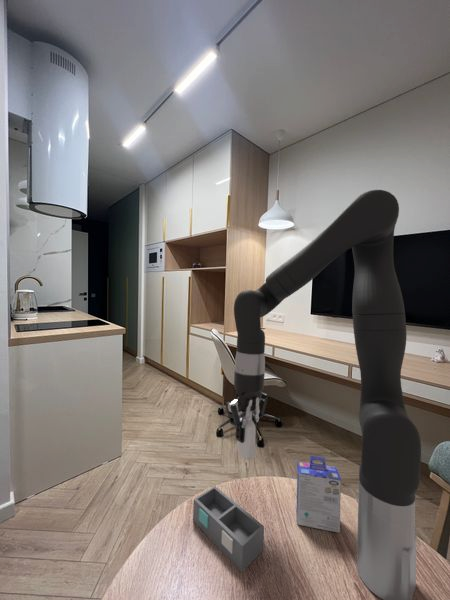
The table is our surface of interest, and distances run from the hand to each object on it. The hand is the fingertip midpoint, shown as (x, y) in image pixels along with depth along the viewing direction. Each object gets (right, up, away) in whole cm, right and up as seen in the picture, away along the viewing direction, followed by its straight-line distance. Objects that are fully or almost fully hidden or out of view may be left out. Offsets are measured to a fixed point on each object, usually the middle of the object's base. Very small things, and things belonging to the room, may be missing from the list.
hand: (246, 438), depth 64 cm
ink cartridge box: (+17, -19, -2) cm, 26 cm away
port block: (-5, -18, -6) cm, 20 cm away
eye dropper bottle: (0, -4, 0) cm, 4 cm away
